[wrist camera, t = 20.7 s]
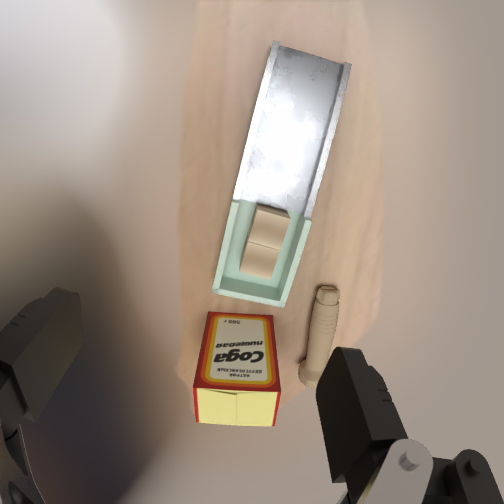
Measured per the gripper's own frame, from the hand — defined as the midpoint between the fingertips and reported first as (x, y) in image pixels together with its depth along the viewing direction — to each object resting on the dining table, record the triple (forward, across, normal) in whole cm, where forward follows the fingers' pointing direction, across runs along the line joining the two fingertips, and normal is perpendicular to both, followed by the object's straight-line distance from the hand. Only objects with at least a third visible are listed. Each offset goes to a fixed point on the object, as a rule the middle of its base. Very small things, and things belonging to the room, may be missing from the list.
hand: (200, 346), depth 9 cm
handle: (+30, -15, +12) cm, 36 cm away
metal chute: (+32, -5, -8) cm, 33 cm away
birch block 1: (+31, -5, +5) cm, 32 cm away
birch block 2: (+31, -4, +9) cm, 33 cm away
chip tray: (+32, -4, +8) cm, 33 cm away
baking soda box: (+32, -5, +22) cm, 39 cm away
